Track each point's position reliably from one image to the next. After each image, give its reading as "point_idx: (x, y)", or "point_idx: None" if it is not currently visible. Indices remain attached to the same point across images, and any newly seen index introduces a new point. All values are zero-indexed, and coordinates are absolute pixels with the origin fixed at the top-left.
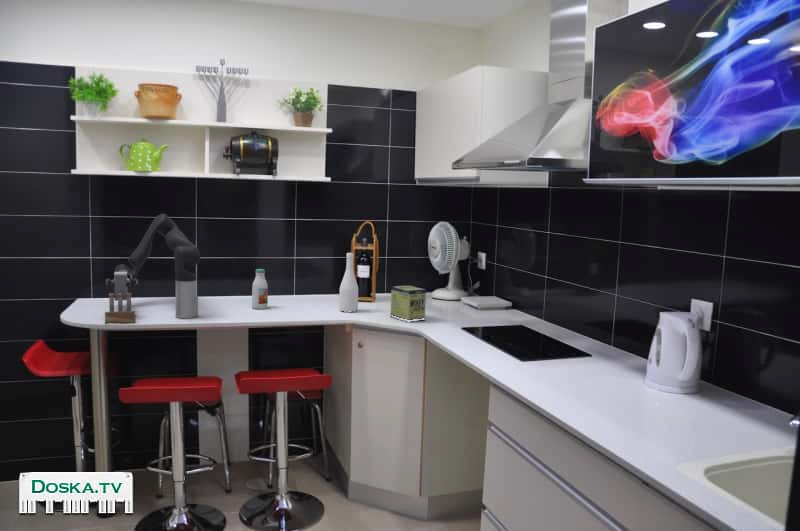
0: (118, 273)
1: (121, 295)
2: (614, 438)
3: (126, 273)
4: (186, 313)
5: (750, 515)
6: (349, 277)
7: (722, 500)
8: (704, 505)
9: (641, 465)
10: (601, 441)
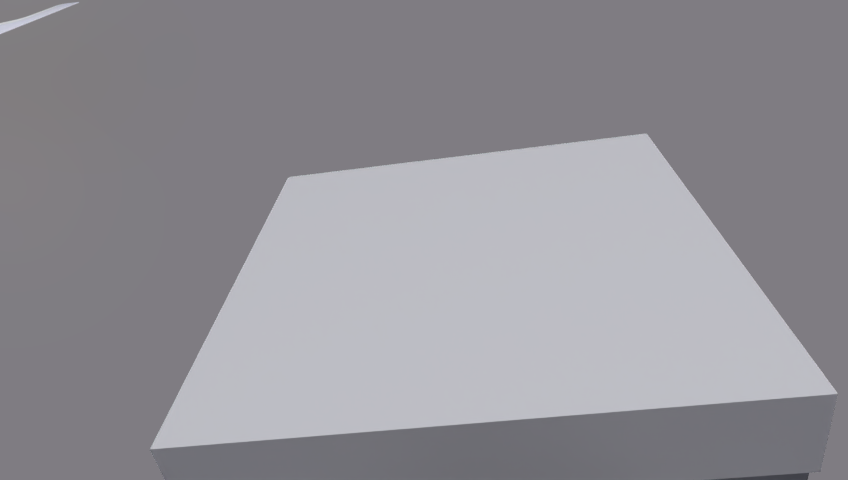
0: (521, 161)
1: None
2: None
3: (287, 183)
4: None
5: (59, 5)
6: None
7: (50, 9)
8: (67, 6)
9: (32, 20)
10: (3, 32)
